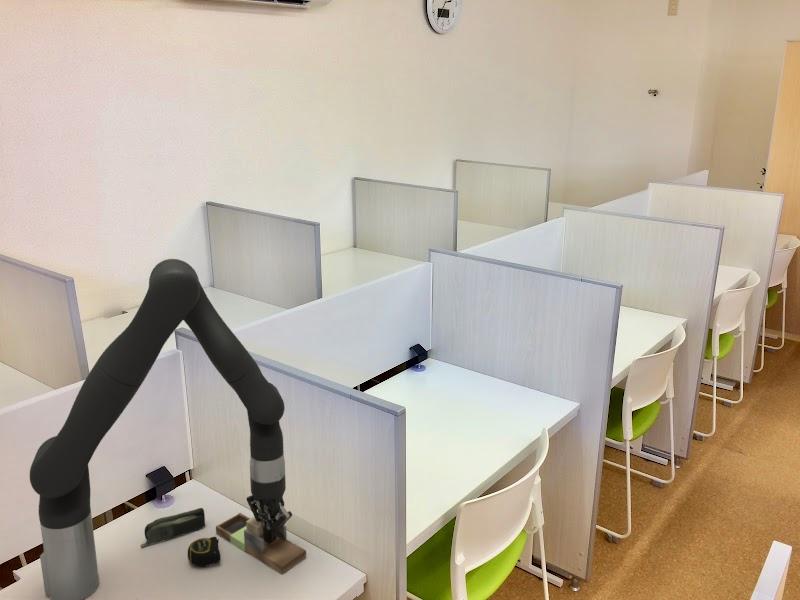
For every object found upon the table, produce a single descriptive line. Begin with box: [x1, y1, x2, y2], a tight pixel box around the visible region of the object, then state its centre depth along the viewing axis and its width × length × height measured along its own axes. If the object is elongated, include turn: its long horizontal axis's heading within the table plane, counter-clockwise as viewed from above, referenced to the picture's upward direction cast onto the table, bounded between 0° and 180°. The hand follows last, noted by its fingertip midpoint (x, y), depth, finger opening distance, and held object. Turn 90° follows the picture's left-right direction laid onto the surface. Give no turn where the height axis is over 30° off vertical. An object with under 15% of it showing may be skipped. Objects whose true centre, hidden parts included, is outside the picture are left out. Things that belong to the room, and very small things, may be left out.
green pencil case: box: [140, 507, 206, 548], centre depth 158 cm, size 5×3×15 cm
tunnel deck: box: [215, 512, 307, 575], centre depth 155 cm, size 22×7×6 cm, turn 52°
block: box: [246, 516, 264, 540], centre depth 155 cm, size 4×4×4 cm
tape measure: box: [187, 536, 221, 568], centre depth 150 cm, size 7×7×4 cm
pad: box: [230, 526, 247, 552], centre depth 157 cm, size 5×7×2 cm
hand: (270, 540), depth 152 cm, fingers closed
